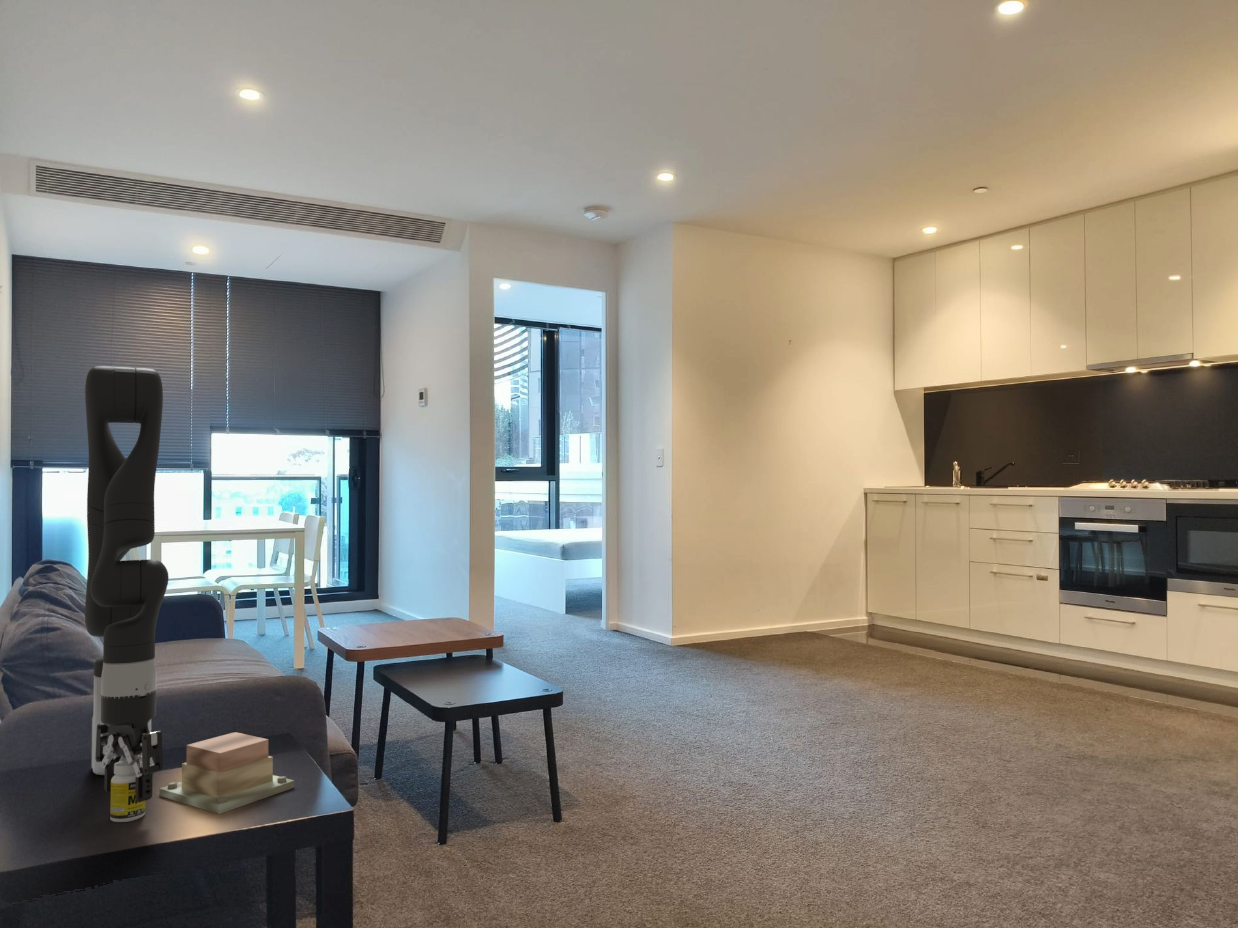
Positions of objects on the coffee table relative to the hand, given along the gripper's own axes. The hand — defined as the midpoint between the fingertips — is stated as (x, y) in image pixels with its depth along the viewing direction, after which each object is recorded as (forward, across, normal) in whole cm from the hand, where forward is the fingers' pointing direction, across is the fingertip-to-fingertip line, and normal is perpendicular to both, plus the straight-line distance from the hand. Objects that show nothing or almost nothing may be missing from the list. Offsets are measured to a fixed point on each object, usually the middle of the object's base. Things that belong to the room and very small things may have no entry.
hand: (128, 795), depth 135 cm
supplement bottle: (+4, 0, 0) cm, 4 cm away
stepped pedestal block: (+3, +3, +15) cm, 16 cm away
